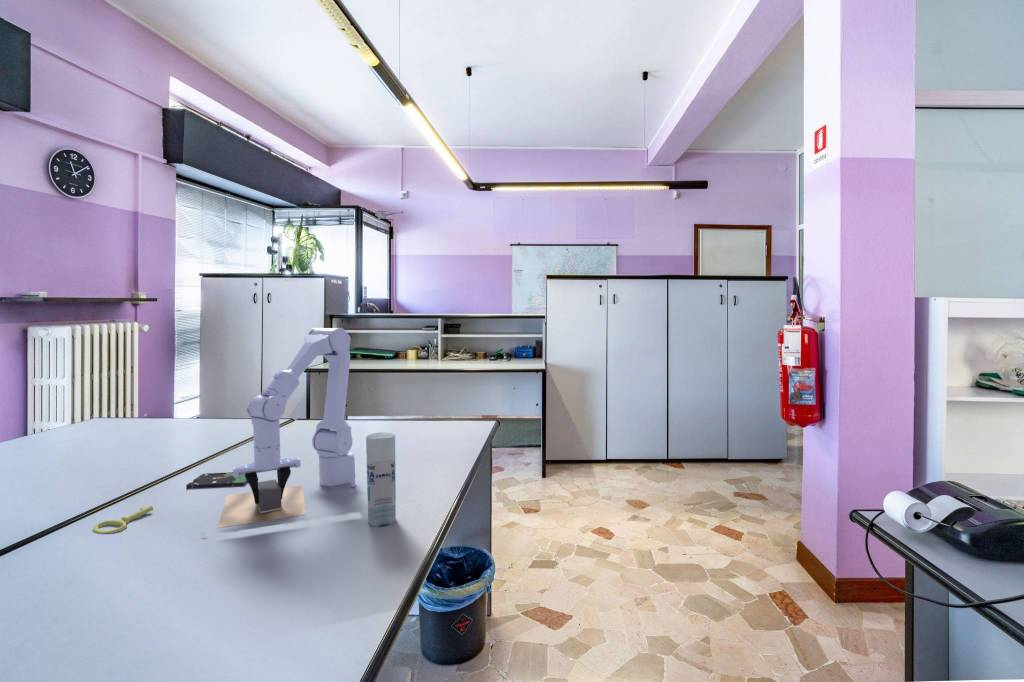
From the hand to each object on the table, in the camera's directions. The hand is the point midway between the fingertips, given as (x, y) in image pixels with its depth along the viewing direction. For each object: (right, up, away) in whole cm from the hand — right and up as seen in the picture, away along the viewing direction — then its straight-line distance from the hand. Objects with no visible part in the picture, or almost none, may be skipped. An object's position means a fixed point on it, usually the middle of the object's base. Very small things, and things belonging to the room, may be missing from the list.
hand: (268, 500), depth 124 cm
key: (-30, -4, -6) cm, 31 cm away
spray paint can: (+29, -3, -5) cm, 30 cm away
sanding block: (0, -1, 0) cm, 1 cm away
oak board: (-2, -3, +2) cm, 4 cm away
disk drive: (-22, -2, +19) cm, 29 cm away
